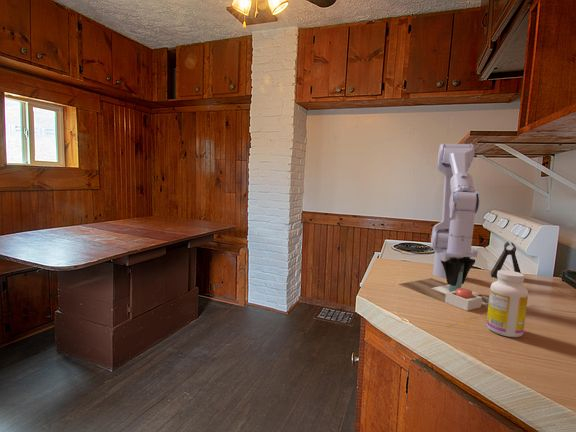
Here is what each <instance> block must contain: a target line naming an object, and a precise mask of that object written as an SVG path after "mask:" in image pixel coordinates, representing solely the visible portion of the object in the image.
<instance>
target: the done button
mask: <svg viewBox="0 0 576 432" xmlns="http://www.w3.org/2000/svg"><path fill="white" fill-rule="evenodd" d="M472 292H473V291H472V290H470V289H468V288H462V287H461V288H457V291H456V295H457V296H460V297H462V298H465V299H470V298H472Z"/></svg>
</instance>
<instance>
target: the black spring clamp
mask: <svg viewBox="0 0 576 432" xmlns="http://www.w3.org/2000/svg"><path fill="white" fill-rule="evenodd" d="M510 243H511V245H510ZM510 243H509V241H506V242H505V243H504V245H503V247H504V249H503V251H502V253H501V254H500V255H499V257H498V259H497V261H496V262H495V264H494V266H493V267H492V269H491V271H490V276H491V278H493V277H494V278H493V279H498V278H497V272H498V270H502V269H503V266H504V263H505V261H506V259H507V258H508V256H510V257H511V261H512V267H513V271H514V272H518V273H521V269H520V265H519V262H518V259H517V256H516V251H517V247H516V246H515V243H513V242H512V241H511V242H510ZM508 246H512V249H508V248H507V247H508ZM521 274H522V273H521Z"/></svg>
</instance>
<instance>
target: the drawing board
mask: <svg viewBox="0 0 576 432" xmlns="http://www.w3.org/2000/svg"><path fill="white" fill-rule="evenodd" d="M397 285H399V286H400V287H404V288H406V289H409V290H411V291H415V292H417V293H420V294H422V295H424V296H427V297H429V298H432V299H434V300H437V301H440V302H442V303H445V304H448V303H446V302H445V297H446V293H447V292H451V291H449V284H447V282H444V281H441V280H437V279H434V278H432V277H431V278H425V279H419V280H414V281H408V282H403V283H402V282H401V283H397ZM472 294H474V295H477V296H480V297H482V304H481V307H479V308H476V309H472V310H469V311H473V310H477V309H481V308H484V307H488V304H489V296H486V295H483V294H481V293H478V292H475V291H472ZM448 305H451V304H448ZM451 306H453V305H451ZM453 307H456V306H453ZM456 308H457V309H460V310H463V311H466V310H464V309H461V308H458V307H456ZM469 311H468V312H469ZM466 312H467V311H466Z"/></svg>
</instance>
